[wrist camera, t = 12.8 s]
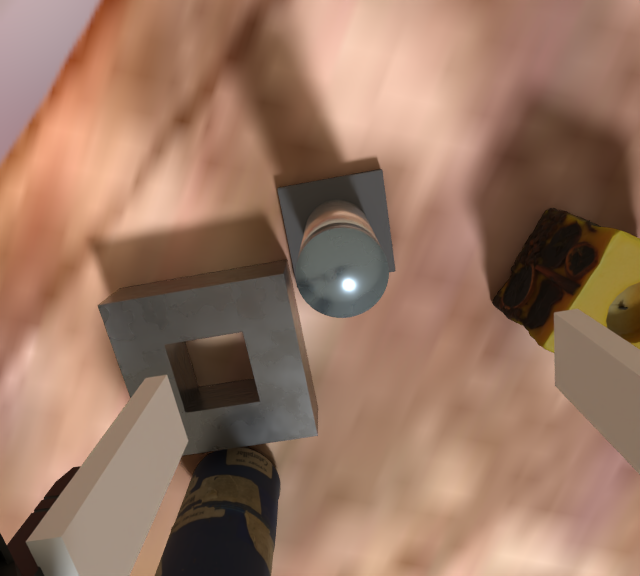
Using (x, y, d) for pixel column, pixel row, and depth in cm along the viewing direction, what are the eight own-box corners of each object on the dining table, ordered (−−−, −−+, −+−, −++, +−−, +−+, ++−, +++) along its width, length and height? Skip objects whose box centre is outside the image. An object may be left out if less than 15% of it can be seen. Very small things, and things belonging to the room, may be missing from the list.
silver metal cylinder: (311, 267, 40) (304, 324, 28) (299, 205, 39) (287, 237, 26) (373, 257, 40) (394, 310, 28) (364, 194, 38) (382, 221, 26)
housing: (167, 430, 47) (152, 460, 43) (120, 288, 42) (97, 305, 38) (318, 408, 46) (317, 435, 42) (287, 259, 41) (283, 273, 37)
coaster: (297, 284, 42) (297, 287, 41) (278, 187, 39) (277, 188, 38) (393, 268, 41) (395, 271, 40) (380, 169, 39) (382, 169, 38)
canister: (203, 430, 47) (136, 596, 30) (291, 450, 48) (275, 623, 31) (188, 501, 50) (119, 689, 33) (271, 518, 51) (246, 711, 34)
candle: (488, 303, 43) (536, 350, 33) (544, 204, 40) (615, 224, 30) (581, 340, 44) (652, 396, 34) (642, 246, 41) (739, 279, 31)
